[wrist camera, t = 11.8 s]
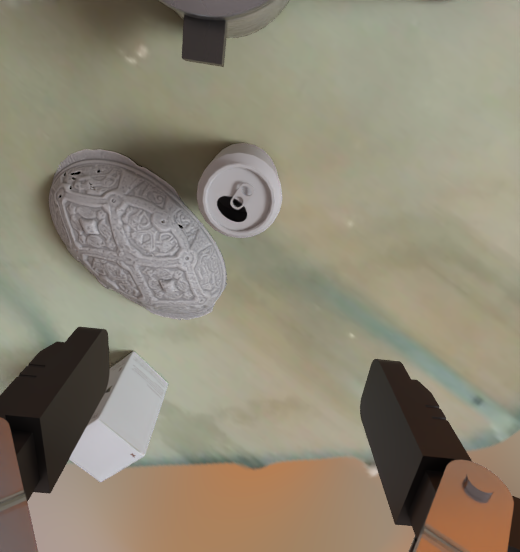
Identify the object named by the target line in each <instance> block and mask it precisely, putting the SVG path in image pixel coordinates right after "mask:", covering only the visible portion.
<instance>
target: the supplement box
mask: <svg viewBox="0 0 520 552" xmlns="http://www.w3.org/2000/svg"><path fill="white" fill-rule="evenodd" d="M167 387H168V383H167V382H166V381H165V380H164V379H163V378H162V377H161V376H160V375H159V374H158V373H157V372H156V371H155V370H154V369H153V368H152V367H151V366H150V365H148V364H147V363H146V362H145V361H144V360H143V359H142V358H141V357H140V356H139V355H138V354H137V353H135V352H134V351H133V352H131V353H130V354H129V355H127V356H126V357H125V358H123V359H122V360H121V361H119V362H118V363H116V364H115V365H114V366H112V367H111V368H109V381H108V385H107V389H106V391H105V394H104V396H103V397H102V399H101V401H100V403H99V405H98V407H97V408H96V410H95V412H94V414H93V416H92V418H91V419H90V421H89V423H88V425H87V427H86V429H85V430H84V432H83V434H82V436H81V438H80V440H79V441H78V443H77V445H76V447H75V449H74V451H73V452H72V454H71V456H70V458H69V460H71V461H72V462H73V463H75V464H76V465H77V466H79V467H80V468H82V469H83V470H84V471H86V472H87V473H89V474H90V475H91V476H93V477H94V478H95V479H97V480H98V481H99V482H103V481H104V480H106V479H107V478H109V477H111V476H112V475H114V474H116V473H117V472H119V471H121V470H123V469H124V468H126V467H127V466H129V465H131V464H132V463H134V462H135V461H137V460H139V459H140V458H142V457H144V456H145V454H146V451H147V448H148V445H149V441H150V439H151V435H152V432H153V429H154V426H155V423H156V420H157V417H158V414H159V411H160V408H161V405H162V402H163V399H164V396H165V393H166V390H167Z"/></svg>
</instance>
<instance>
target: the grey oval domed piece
mask: <svg viewBox="0 0 520 552" xmlns="http://www.w3.org/2000/svg"><path fill="white" fill-rule="evenodd" d="M60 164H61V166H60V165H59V168H58V167H57V171H56V173H55V176H54V178H53V182H52V186H51V189H50V193H49V208H50V213H51V217H52V220H53V223H54V225H55V228H56V230H57V232H58V234H59V236H60V237H61V239H62V241H63V242H64V243H65V245H66V246H67V250H68V251H69V252H70V253H71V254H72V256H73V257H74V258H75V259H76V260H77V261H79V262H81V263H82V264H83V265H84V266H85V267H86V268H87V269H88V270H89V271H90V273H91V274H93V275H94V276H95V277H96V278H97V280H98V281H99V282H100V283H101V284H102V285H104V286H105V288H107V289H113V290H114V291H116V292H119V293H120V294H122V295H123V296H125V297H126V298H128V299H130V300H131V301H133V302H135V303H138V304H139V305H140V306H143V307H145V308H146V309H147V310H149V311H150V312H151V313H153V314H157V315H160V316H163V317H169V318H172V319H179V320H181V319H186V320H188V319H193V318H197V317H201V316H203V315H206V314H208V313H209V312H210V313H211V312H212V310H213V307H214V305H215V302H216V300H217V299H218V298H219V297H220V295H221V293H222V292H223V290H224V289H225V287H226V285H227V283H226V279H227V277H226V275H227V274H226V267H225V263H224V259H223V256H222V254H221V252H220V250H219V248H218V246H217V244H216V242H215V241H214V239H213V238H212V236H211V235H210V233H209V232H208V231H207V229H206V228H205V227H204V225H203V223H201V222H200V221H199V220H198V218H197V217H196V216H195V215H194V214H193V213H192V212H191V210H190V209H189V208H188V207H187V206H186V205H185V204H184V203H183V202H182V201H181V199H180V197H179V195H178V194H177V192H176V190H175V189H174V188H173V187H172V186H171V185H170V184H168V183H166V181H164V180H163V179H161V178H159V177H158V176H157V175H155V174H154V173H152V172H150V171H149V170H148V169H147V168H145V167H139V166H138V165H136V164H135V163H134V162H133V161H132V160H131V159H129V158H128V157H126V156H123V155H121V154H119V153H116V152H113V151H107V150H102V149H96V150H90V149H84V150H82V151H78V152H75V153H73V154H71V155H70V156H69V155H68V157H67V158H66V159H65V160H63V162H61V163H60ZM95 166H97V167H95ZM98 170H100V173H97V171H98ZM101 171H102V172H101ZM65 172H66V176H64V174H65ZM76 172H81V173H80V174H79V175H70V174H71V173H76ZM136 174H137V175H136ZM73 177H74V178H76V180H73V179H72V178H73ZM89 182H90V184H92V185H90V184H89ZM70 186H72V187H71V188H72V189H70ZM90 186H91V187H90ZM93 186H94V188H92V187H93ZM90 188H91V189H90ZM92 189H96V190H92ZM60 195H61V198H59V196H60ZM176 215H177V217H176ZM161 221H163V223H162V222H161ZM178 224H179V225H181V226H182V227H183V228H180V227H179V226H178Z"/></svg>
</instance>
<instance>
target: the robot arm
mask: <svg viewBox="0 0 520 552" xmlns="http://www.w3.org/2000/svg"><path fill="white" fill-rule="evenodd" d="M108 381H109V346H108V333H107V331H106V330H105V329H97V328H87V327H78V328H77V329H76V330H75V331H74V332H73V333H72V335H71V336H70V337H69V338H68V340H67V341H66V342H65V343H64V342H56V343H54V344H52V345H50V346H49V347H47V348H45V349H43V350H42V351H40V352H39V353H38V354H37V355H36V356H35V358H34V359H33V360H32V361H31V362H30V363H29V366H26V368H25V369H24V370H23V371H22V372H21V373H20V375H19V377H16V379H15V380H14V381H13V382H12V383H11V384H10V385H9V386H8V387H7V389H6V390H5V391H4V392H3V393H2V394H1V395H0V552H38V549H37V544H36V540H35V535H34V531H33V526H32V522H31V517H30V512H29V508H28V503H27V501H28V500H29V498H30V496H31V494H32V493H33V492H40V493H51V491H52V489H53V487H54V485H55V483H56V482H57V480H58V478H59V476H60V474H61V473H62V471H63V469H64V467H65V465H66V463H67V462H68V460H69V458H70V456H71V454H72V452H73V451H74V449H75V447H76V445H77V443H78V441H79V440H80V438H81V436H82V434H83V432H84V430H85V429H86V427H87V425H88V423H89V421H90V419H91V418H92V416H93V414H94V412H95V410H96V408H97V407H98V405H99V403H100V401H101V399H102V397H103V396H104V394H105V391H106V389H107V385H108ZM360 414H361V420H362V423H363V426H364V429H365V432H366V435H367V438H368V442H369V445H370V448H371V451H372V454H373V457H374V460H375V463H376V466H377V470H378V473H379V476H380V479H381V482H382V485H383V488H384V491H385V494H386V497H387V500H388V504H389V507H390V510H391V513H392V516H393V519H394V522H395V524H396V525H408V526H412V527H413V530H414V532H415V538H414V540H413V542H412V545H411V547H410V550H409V552H520V499H519V498H516V497H514V496H512V495H511V492H510V491H509V489H508V488H507V486H506V485H505V484H504V483H503V482H502V481H501V479H500V478H499V477H498V476H496V475H495V474H494V473H492V472H491V471H490V470H488V469H487V468H485V467H483V466H481V465H479V464H477V463H474V462H472V461H471V459H470V457H469V456H468V454H467V452H466V450H465V449H464V447H463V445H462V444H461V442H460V440H459V439H458V437H457V435H456V434H455V432H454V430H453V429H452V427H451V425H450V424H449V422H448V421H446V417H445V415H444V414H443V412H442V410H441V409H439V405H438V403H437V402H436V400H435V398H434V397H433V395H432V393H431V392H430V391H429V390H428V389H426V388H425V387H424V386H423V385H422V384H421V383H420V382H419V381H418V380H411V379H410V377H409V375H408V373H407V371H406V370H405V368H404V366H403V364H402V363H401V362H399V361H390V360H381V359H374V360H373V362H372V364H371V367H370V370H369V374H368V377H367V381H366V384H365V387H364V391H363V394H362V398H361V404H360Z"/></svg>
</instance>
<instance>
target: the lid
mask: <svg viewBox="0 0 520 552" xmlns="http://www.w3.org/2000/svg"><path fill="white" fill-rule="evenodd" d="M159 1H160V2H161V3H163V4H165V5H166V6H168V7H170V8H172V9H173V10H175V11H178V12H180V13H183V14H185V15H187V16H191V17H195V18H199V19H204V20H215V21H219V20H232V19H236V18H240V17H245V16H247V15H250V14H252V13H255V12H257V11H259V10H261V9H263V8H264V7H266V6H268V5H270V4H271V3H272V2H274V1H275V0H159Z"/></svg>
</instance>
